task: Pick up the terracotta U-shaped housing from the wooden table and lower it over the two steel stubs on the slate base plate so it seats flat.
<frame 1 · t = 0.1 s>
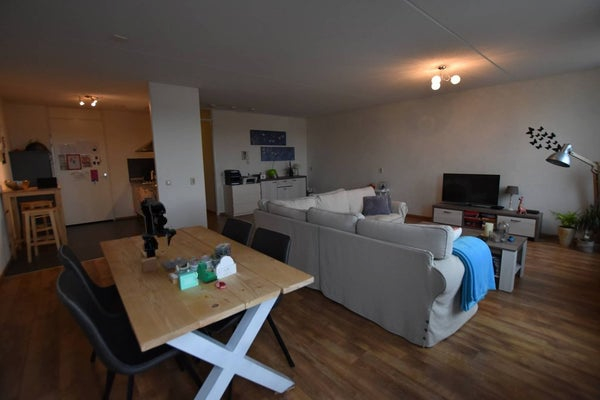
hand: (160, 247, 175), 14 cm above the table, fingers open, 9 cm apart
light bulb box: (223, 261, 191), on the table
base plate: (176, 264, 186), on the table
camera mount: (207, 279, 163), on the table
housing: (150, 269, 178), on the table
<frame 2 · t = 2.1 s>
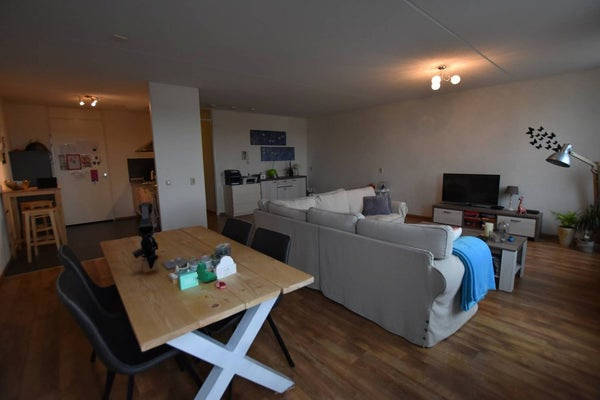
hand: (149, 267, 178), 2 cm above the table, fingers closed on housing, 5 cm apart
housing: (150, 269, 178), on the table, touching gripper
everything else where it was.
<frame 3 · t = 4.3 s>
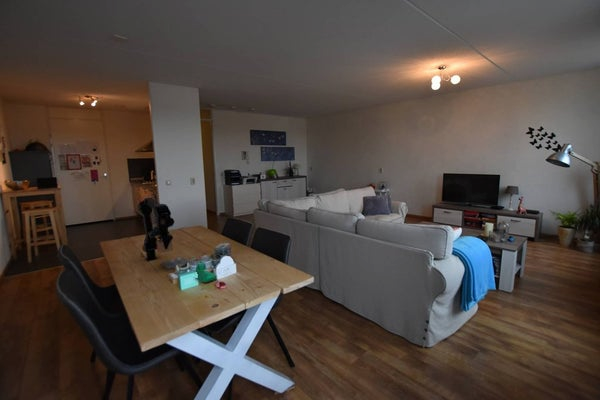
hand: (165, 248, 181), 12 cm above the table, fingers closed on housing, 5 cm apart
housing: (165, 250, 181), point 11 cm above the table, touching gripper
everything else where it was.
when the fingers open (4 cm above the table, at t = 6.6 s): housing stays where it is, resting on base plate.
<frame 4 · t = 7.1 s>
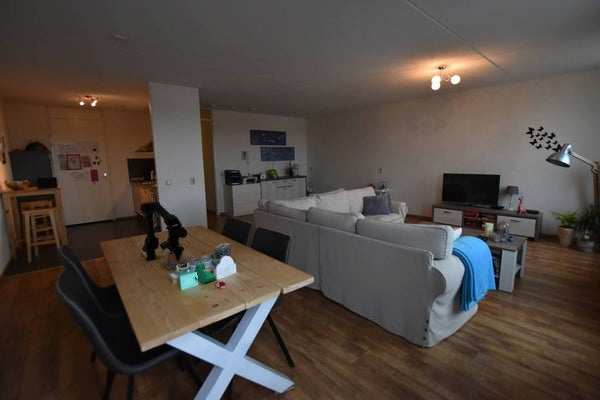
hand: (175, 259, 186), 4 cm above the table, fingers open, 9 cm apart
housing: (175, 262, 186), point 1 cm above the table, touching base plate
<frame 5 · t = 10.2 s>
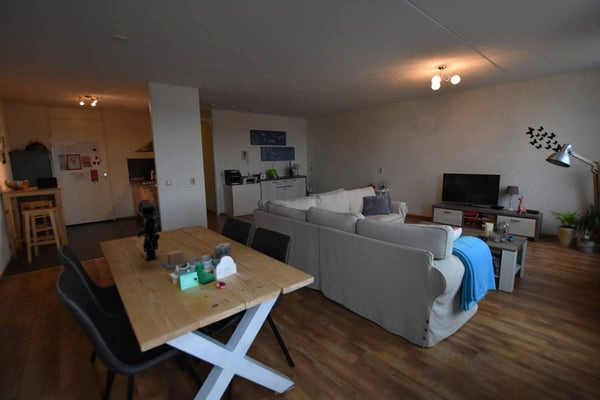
hand: (151, 247, 185), 12 cm above the table, fingers open, 9 cm apart
at the end: housing 0.0 cm off-centre on the base plate, point 1.2 cm above the base plate's base; housing tilted 0°; the gripper is holding nothing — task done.
